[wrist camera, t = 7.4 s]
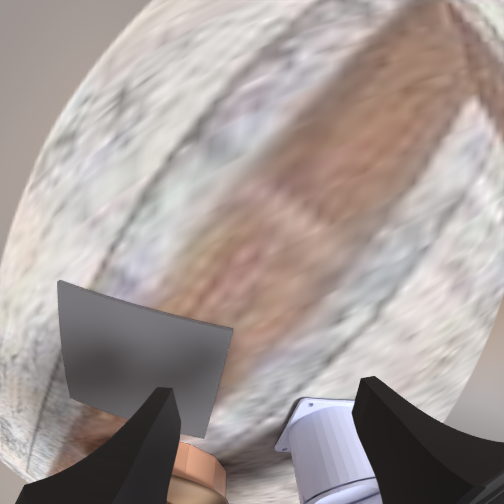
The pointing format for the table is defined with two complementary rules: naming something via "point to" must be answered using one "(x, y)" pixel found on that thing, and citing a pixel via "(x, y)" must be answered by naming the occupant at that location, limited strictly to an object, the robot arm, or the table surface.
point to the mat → (139, 356)
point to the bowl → (200, 468)
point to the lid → (192, 493)
